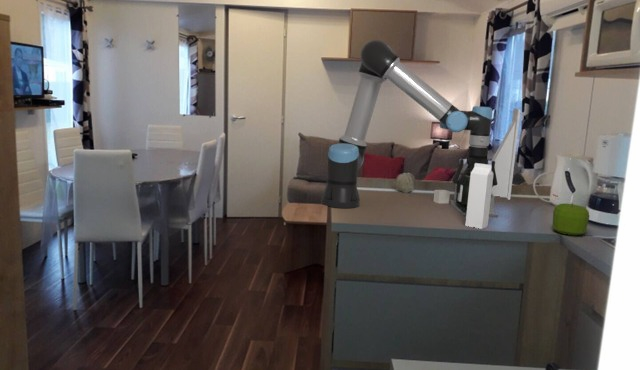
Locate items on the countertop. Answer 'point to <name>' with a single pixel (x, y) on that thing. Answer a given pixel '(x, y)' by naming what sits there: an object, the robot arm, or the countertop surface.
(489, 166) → the milk
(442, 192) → the loose relay
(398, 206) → the countertop surface
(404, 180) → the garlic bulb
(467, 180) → the mug
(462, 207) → the grey storage bin
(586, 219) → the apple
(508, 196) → the white slanted panel
